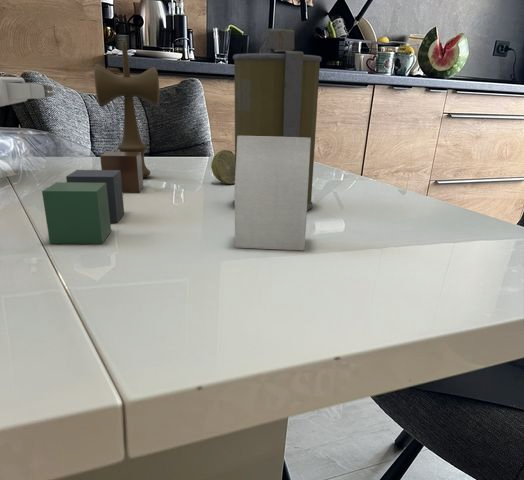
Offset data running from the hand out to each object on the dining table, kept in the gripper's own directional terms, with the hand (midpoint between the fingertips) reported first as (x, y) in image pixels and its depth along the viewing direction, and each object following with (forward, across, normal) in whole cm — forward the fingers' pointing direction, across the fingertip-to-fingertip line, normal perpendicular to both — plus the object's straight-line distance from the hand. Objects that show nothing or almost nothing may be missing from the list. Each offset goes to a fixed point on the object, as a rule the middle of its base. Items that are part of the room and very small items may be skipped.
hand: (48, 91), depth 83 cm
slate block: (+7, +30, -13) cm, 34 cm away
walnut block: (+10, +12, -13) cm, 20 cm away
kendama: (+12, 0, -13) cm, 17 cm away
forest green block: (+6, +39, -13) cm, 42 cm away
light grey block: (+25, +45, -13) cm, 53 cm away
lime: (+26, +7, -13) cm, 30 cm away
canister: (+29, +26, -13) cm, 41 cm away
